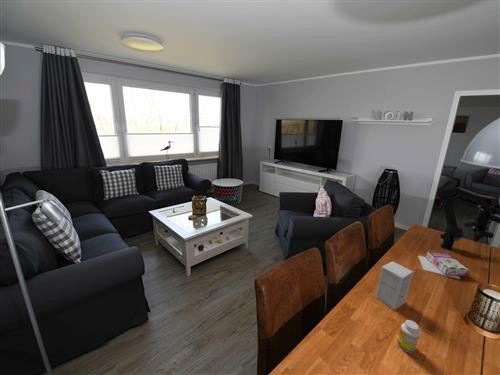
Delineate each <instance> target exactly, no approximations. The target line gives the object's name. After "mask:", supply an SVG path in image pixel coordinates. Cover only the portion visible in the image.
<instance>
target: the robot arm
mask: <svg viewBox="0 0 500 375" xmlns="http://www.w3.org/2000/svg"><path fill="white" fill-rule="evenodd" d="M458 196H462V197H465V199H469V200H472V201H474V202H476V204H477V205H476V206H475V208H476V209H478V212H477V215H476V216H474V217H473V218H469V219H468V218H467V219H462V220H461V224H462V227H464V228H470V229H471V231H472V232H473V241H474V242H475V243H477V242H479V241H480V240H481V239H483V238H484V237H485V238H490V239H493V238H494V236H495V235H494V233H493V232H492V231H491V230H490V228H489V224H492V222H494V223H497V224H499V225H500V201H499V198H498V197H495V196H491V195H483V194H480V193H477V192H474V191H471V190H468V189H466V188H463V187H460V186H459V187H453V188H451V189H447V190H444V191H443V190H441V191H440V192H439V193H438V196H437V197H438V199H439V201H440V203H442V205H443V210H444V215H445V216H444V217H445V220H446V228H445V231H444V233H441V234H440V235H439V236H440V239H442V241H441V243H439V246H440V247H441V249H445V250H449V251H455V249H454V244H455V242H458V241H459V240H461V239H462V238H463V237H464V236H463V235H464V231H463V228H461V227H459V226H458V223H457V218H456V213H455V207H454V203H455V200H456V197H458Z"/></svg>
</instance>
